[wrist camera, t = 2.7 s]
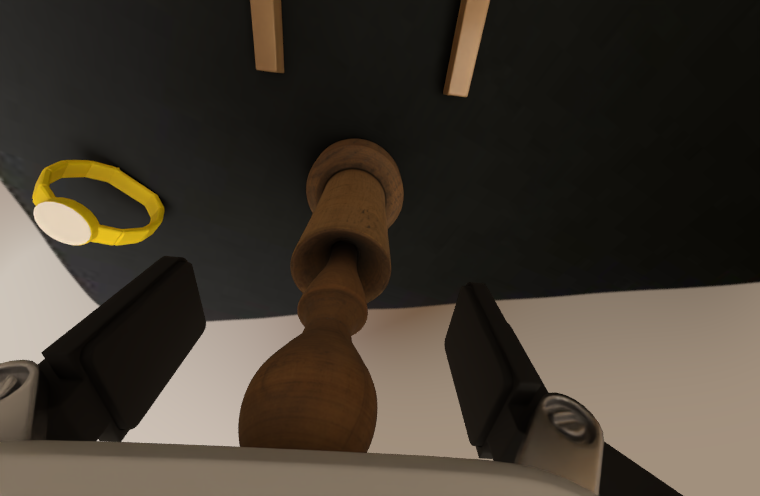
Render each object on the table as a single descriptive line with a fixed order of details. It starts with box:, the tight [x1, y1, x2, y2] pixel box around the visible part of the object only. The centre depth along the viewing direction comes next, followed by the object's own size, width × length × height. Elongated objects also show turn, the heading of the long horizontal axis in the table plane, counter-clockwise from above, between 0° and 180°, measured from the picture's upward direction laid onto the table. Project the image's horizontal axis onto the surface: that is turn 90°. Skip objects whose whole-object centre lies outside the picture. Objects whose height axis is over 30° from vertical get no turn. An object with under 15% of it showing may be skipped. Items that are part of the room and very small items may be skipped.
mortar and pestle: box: [238, 139, 403, 453], centre depth 13 cm, size 7×6×18 cm
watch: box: [32, 160, 165, 245], centre depth 18 cm, size 6×3×6 cm, turn 43°
